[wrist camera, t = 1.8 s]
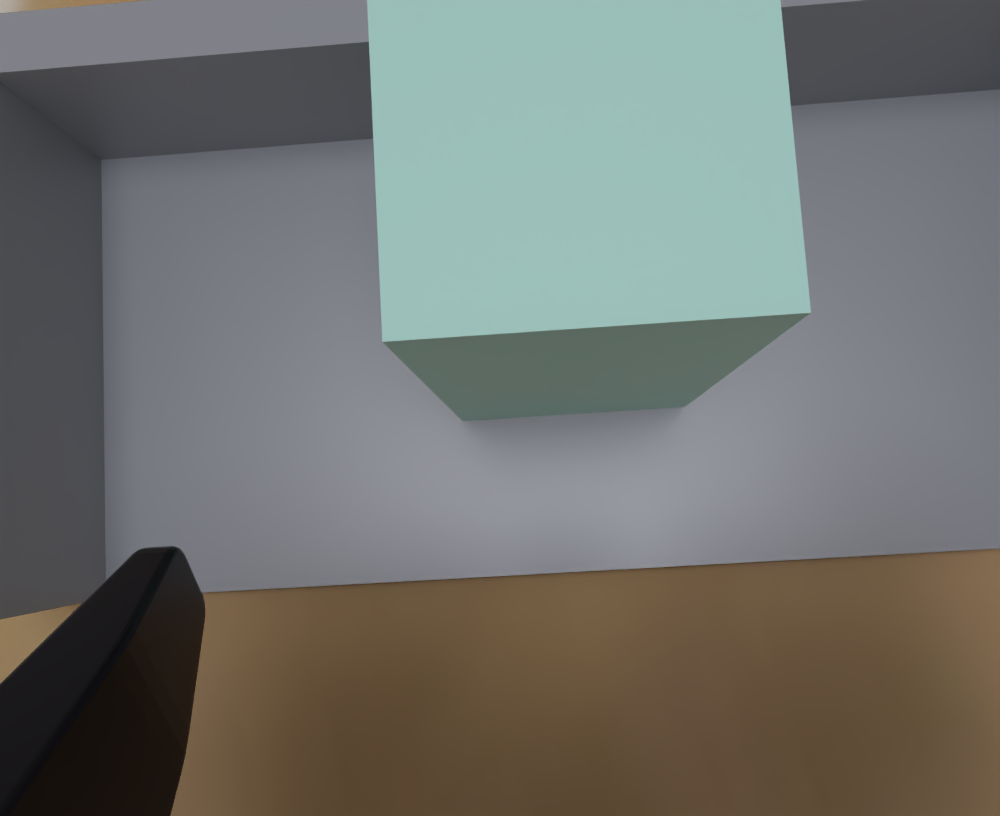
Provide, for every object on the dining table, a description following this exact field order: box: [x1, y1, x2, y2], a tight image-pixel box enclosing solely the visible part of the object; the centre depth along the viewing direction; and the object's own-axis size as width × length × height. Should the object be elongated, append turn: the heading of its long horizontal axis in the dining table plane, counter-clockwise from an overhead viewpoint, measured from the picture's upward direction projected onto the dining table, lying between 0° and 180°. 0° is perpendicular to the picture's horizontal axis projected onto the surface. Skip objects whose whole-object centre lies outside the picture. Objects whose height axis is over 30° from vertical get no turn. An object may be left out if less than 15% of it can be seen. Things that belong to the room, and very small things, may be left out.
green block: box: [367, 0, 811, 421], centre depth 16 cm, size 5×5×10 cm
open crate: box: [0, 0, 1000, 619], centre depth 19 cm, size 12×24×5 cm, turn 93°
